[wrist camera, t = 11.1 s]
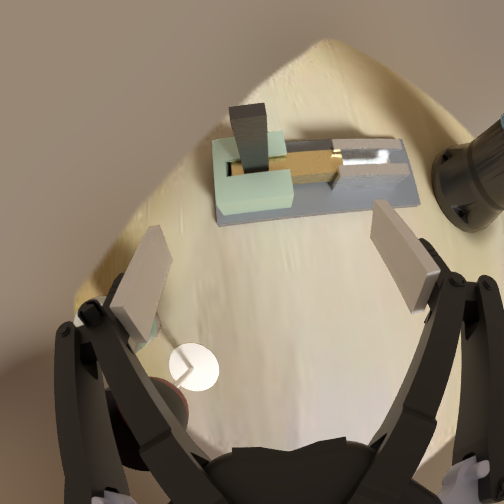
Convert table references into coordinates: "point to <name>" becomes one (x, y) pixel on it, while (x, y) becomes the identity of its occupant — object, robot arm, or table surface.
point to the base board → (331, 193)
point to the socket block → (250, 179)
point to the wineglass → (166, 396)
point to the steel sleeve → (367, 164)
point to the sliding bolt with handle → (256, 156)
